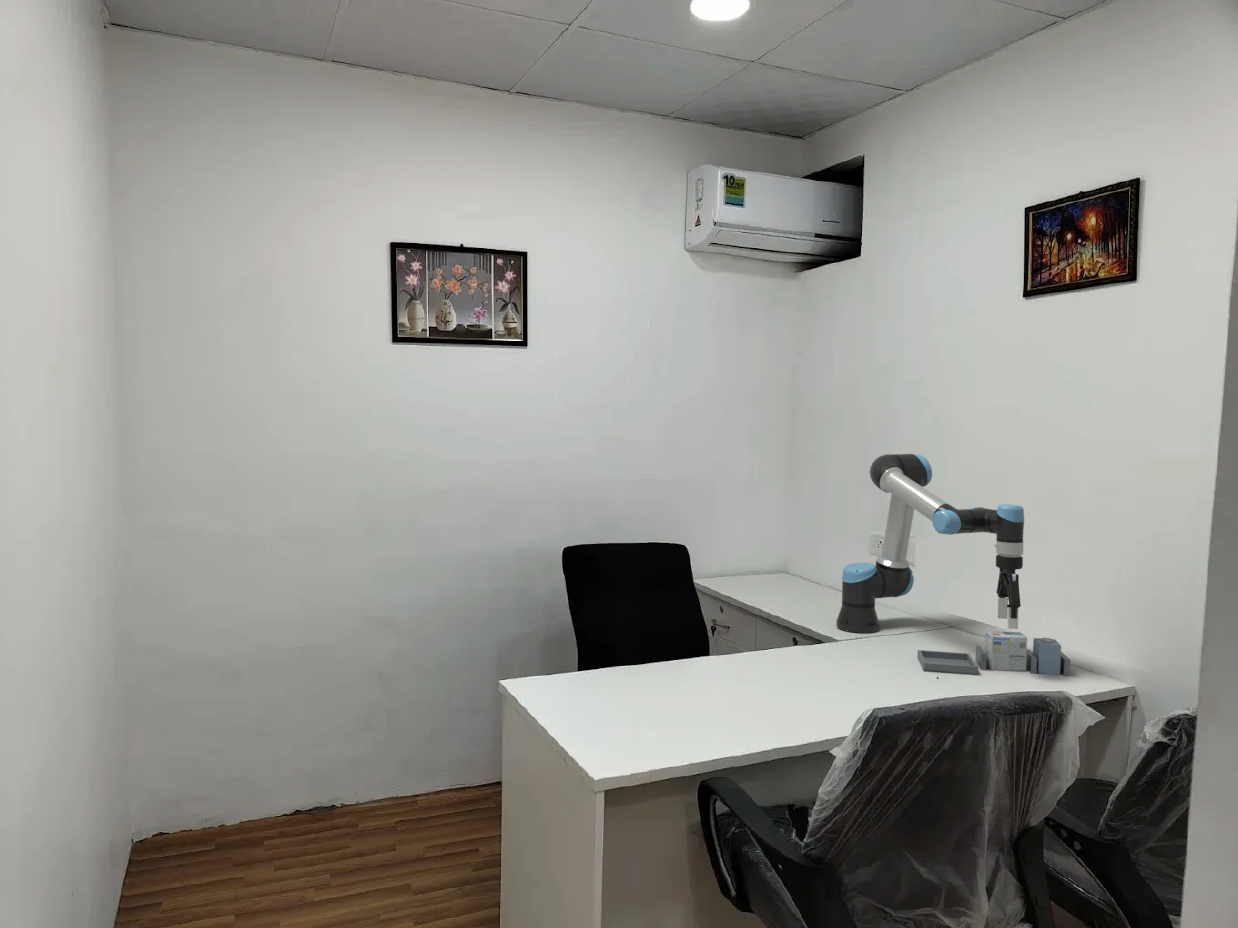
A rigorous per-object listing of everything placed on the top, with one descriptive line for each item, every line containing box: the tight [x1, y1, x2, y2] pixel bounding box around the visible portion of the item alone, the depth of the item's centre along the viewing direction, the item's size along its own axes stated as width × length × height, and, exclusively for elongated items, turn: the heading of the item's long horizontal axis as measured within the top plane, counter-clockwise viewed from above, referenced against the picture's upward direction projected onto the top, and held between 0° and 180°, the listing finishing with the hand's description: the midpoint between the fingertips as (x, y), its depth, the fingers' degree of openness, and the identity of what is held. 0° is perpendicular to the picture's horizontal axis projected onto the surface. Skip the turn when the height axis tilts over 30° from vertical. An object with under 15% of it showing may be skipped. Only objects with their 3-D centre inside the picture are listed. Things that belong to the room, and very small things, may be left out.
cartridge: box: [1032, 637, 1062, 675], centre depth 258 cm, size 7×6×10 cm
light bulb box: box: [984, 630, 1028, 672], centre depth 260 cm, size 11×7×11 cm, turn 84°
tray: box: [916, 649, 979, 676], centre depth 261 cm, size 15×16×2 cm
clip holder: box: [974, 645, 1071, 677], centre depth 259 cm, size 9×25×5 cm, turn 77°
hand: (1007, 623), depth 259 cm, fingers open, 13 cm apart
